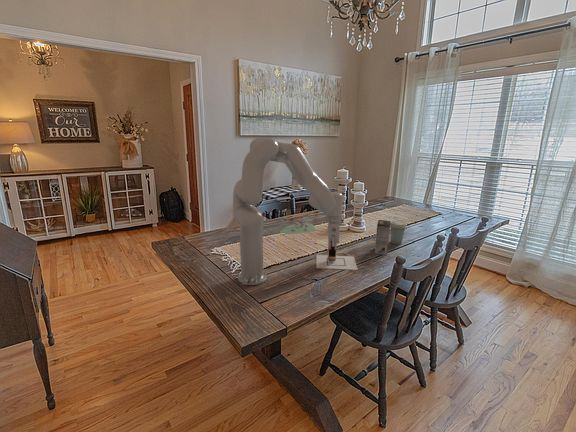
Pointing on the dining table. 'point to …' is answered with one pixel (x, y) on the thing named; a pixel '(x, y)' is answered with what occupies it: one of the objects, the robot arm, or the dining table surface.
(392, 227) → the coffee cup
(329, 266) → the paper sheet
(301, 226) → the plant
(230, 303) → the dining table surface
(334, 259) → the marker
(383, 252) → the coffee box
